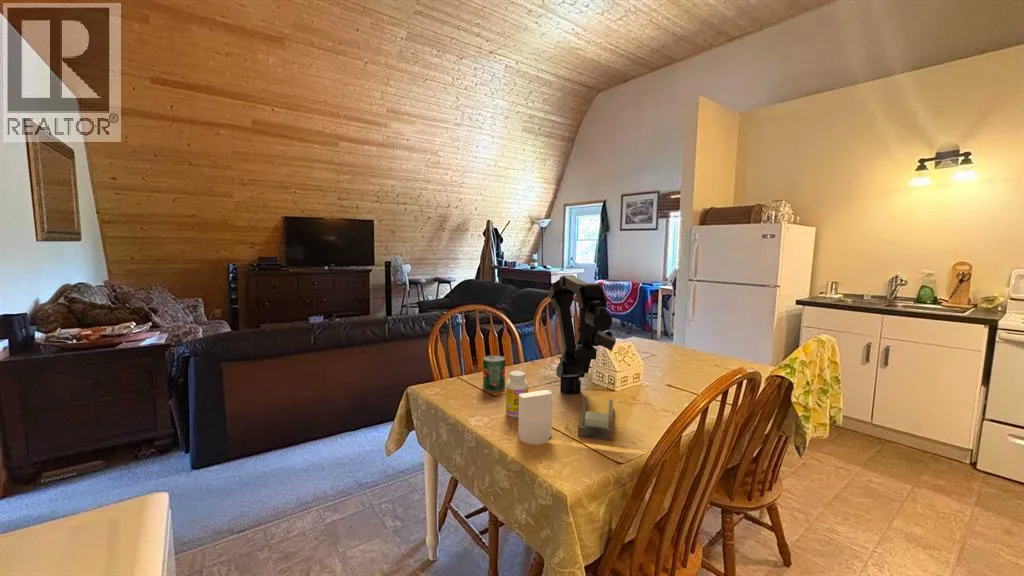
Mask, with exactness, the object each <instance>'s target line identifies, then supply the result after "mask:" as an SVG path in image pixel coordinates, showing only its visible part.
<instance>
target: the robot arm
mask: <svg viewBox="0 0 1024 576" xmlns="http://www.w3.org/2000/svg"><path fill="white" fill-rule="evenodd" d="M548 298H549V299H550V302H551V307H553V308H554V309H555V310H556V312H557V319H558V325H559V332H560V338H561V344H562V345H561V347H562V352H561V355H560V356H559V362H558V365H557V366H556V369H555V372H556V373H555V374H556V376H557V377H558V378H559V379H560V387H559V388H560V391H559V393H563V394H565V395H581V392H582V380H581V378H585V374H589V371H590V366H591V362H592V360H593V361H594V360H596V359H597V354H598V353H597V352H598V349H597V348H598V346H601V347H603V348H605V349H607V350H608V351H613V349H614V346H615V345H616V342H617V338H616V337H615V336H613V331H611V330H609V329H610V328H611V326H612V325H613V319H612V316H611V315H610V314H609V313H608V312H607V308H608V304H607V303H608V300H607V298H606V295H605V293H604V289H603V287H602V286H601V284H600V283H598V282H586V281H584V280H582V279H579V278H578V277H576V275H572V274H568V275H567V274H564V275H560V276H559V278H558V280H556V281H555V282H553V283H552V284H551V286H550V288H549V290H548ZM574 298H575V299H577V302H578V304H577V307H578V326H577V327H578V328H577V332H578V335H577V342H576V335H575V329H574V323H573V316H572V311H571V306H572V305H573V302H574ZM596 347H597V348H596Z"/></svg>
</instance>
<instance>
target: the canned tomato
mask: <svg viewBox="0 0 1024 576" xmlns="http://www.w3.org/2000/svg"><path fill="white" fill-rule="evenodd" d="M482 361H483V362H482V366H483V368H482V370H483V371H482V374H483V376H482V377H483V378H482V380H483V382H482V383H483V384H482V385H483V386H482V387H483V390H484V391H486V392H490V391H491V392H493V393H495V392H502V391H504V390H505V389H506V357H505V356H502V355H498V354H497V355H496V354H491V355H490V354H489V355H485V356H483V357H482Z"/></svg>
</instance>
